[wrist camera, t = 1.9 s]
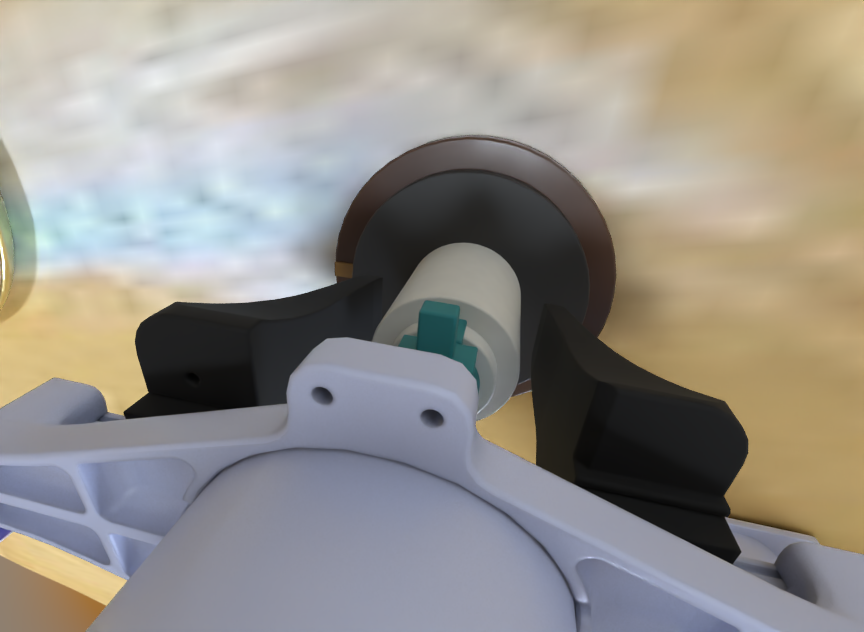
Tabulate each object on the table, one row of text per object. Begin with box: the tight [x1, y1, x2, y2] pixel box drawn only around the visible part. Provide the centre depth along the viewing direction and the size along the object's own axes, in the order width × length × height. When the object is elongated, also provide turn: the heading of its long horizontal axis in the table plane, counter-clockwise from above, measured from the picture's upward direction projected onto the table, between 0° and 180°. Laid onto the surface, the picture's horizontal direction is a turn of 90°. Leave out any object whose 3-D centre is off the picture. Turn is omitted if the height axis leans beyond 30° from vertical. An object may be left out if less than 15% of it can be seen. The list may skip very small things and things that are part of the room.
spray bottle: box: [352, 169, 590, 421], centre depth 13 cm, size 9×9×8 cm
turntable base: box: [335, 135, 616, 397], centre depth 16 cm, size 11×11×1 cm
